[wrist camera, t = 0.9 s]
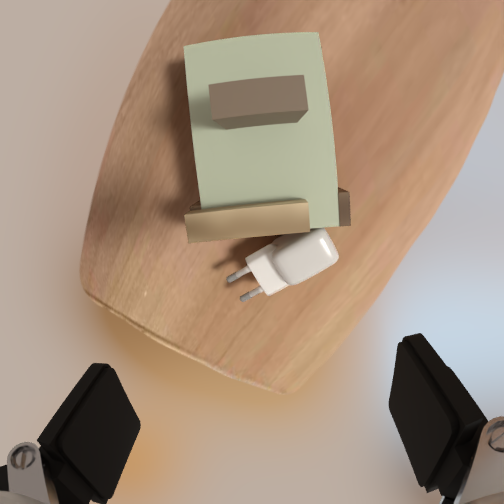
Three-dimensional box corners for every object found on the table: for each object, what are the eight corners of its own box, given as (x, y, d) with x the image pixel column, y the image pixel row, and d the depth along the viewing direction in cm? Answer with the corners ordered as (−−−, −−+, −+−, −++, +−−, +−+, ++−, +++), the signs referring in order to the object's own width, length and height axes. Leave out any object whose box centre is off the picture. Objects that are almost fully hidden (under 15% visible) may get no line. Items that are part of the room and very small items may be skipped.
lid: (186, 49, 23) (158, 16, 15) (316, 36, 22) (333, -3, 14) (207, 235, 28) (186, 265, 20) (337, 223, 27) (362, 249, 20)
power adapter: (247, 294, 35) (244, 319, 30) (225, 260, 34) (217, 281, 28) (333, 247, 33) (345, 265, 27) (312, 210, 32) (322, 221, 26)
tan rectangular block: (189, 210, 26) (183, 215, 24) (305, 199, 25) (308, 202, 23) (193, 237, 27) (188, 243, 25) (307, 226, 26) (310, 231, 24)
